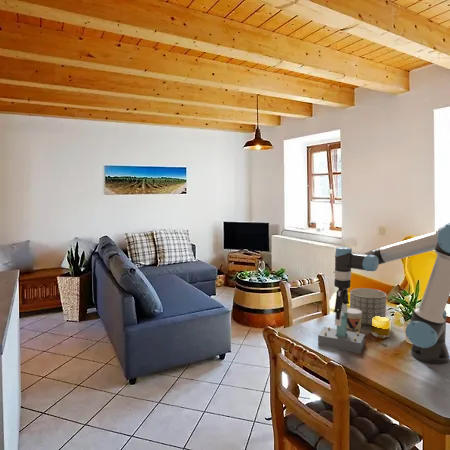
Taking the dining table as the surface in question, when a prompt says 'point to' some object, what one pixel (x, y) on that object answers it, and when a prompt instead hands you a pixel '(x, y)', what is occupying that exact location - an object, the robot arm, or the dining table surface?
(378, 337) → the dining table surface
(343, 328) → the plug
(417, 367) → the dining table surface
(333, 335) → the block
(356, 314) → the coffee cup
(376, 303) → the planter
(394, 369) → the dining table surface
